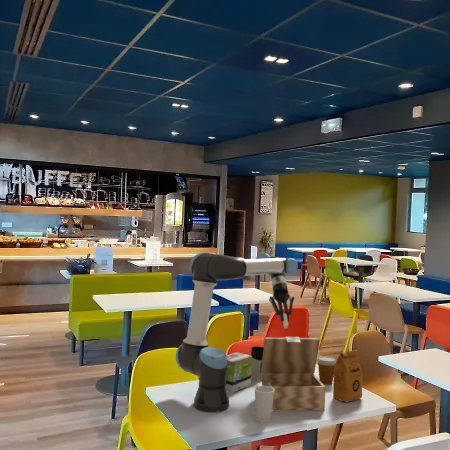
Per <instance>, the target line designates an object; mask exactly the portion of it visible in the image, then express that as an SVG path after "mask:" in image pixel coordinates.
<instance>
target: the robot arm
mask: <svg viewBox="0 0 450 450" xmlns="http://www.w3.org/2000/svg"><path fill="white" fill-rule="evenodd" d="M298 264H299V263H298V261H297V260H296V259H295V258H291V257H282V256H274V255H270V254H268V253H267V252H264V251H263V252H260V253H258V254H257V256H256V258H243V257H240V256H238V257H237V256H236V257H235V256H229V255H224V254H219V253H212V252H198V253H197V254H195V255H194V256H193V257H191V260H190V262H189V268H188V269H189V272H190V274H191V275H192V280H191V281H192V282H193V283H194V288H193V289H194V290H193V294H192V296H193V297H192V301H191V307H190V308H191V309H190V316H189V322H188V323H189V324H188V329H187V335H186V337H185V338H184V339H183V340H182V344H181V345H179V347H178V348H177V349H176V352H175V361H176V365H177V366H178V368H180V369H182V370H183V371H184V372H186V373H190V374H193V375H194V376H196V377H198V387H197V391H196V393H195V396H194V399H193V406H194V407H195V409H197V410H199V411H202V412H206V413H216V412H222V411H226V410H228V409H229V407H230V398H229V395H228V391H226V371H227V356H226V355H227V354H226V352H225V351H224V350H222V349H221V348H217V347H215V348H214V347H212V346H211V347H209V343H208V342H207V333H208V326H209V320H210V312H211V305H212V302H213V301H212V299H213V293H214V288H215V287H216V286H217V285H218V282H219V281H229V280H237V279H242V278H244V277H247V276H249V277H250V276H261V275H269V276H270V278H271V284H272V285H271V286H272V293H273V294H272V295H271V296H269V298H268V301H269V302H270V303H271V306H272V307H273V310H274V313H275V315H276V316H279V317H280V318H279V319H280V321H281V322H282V323H283V324H282V325H283V329H288V327H289V321H290V316H291V315H292V313H293V306H294V301H295V296H291V295H290V293H289V289H288V283H287V278H286V274H287V275H288V274H290V275H291V274H292V275H293V274H295V273H296V272H297V271H298ZM288 301H289V305H288ZM288 307H289V308H288ZM283 309H284V310H283Z"/></svg>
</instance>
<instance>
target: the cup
mask: <svg viewBox="0 0 450 450" xmlns="http://www.w3.org/2000/svg"><path fill="white" fill-rule="evenodd" d="M273 397H274V388H272V387H269V386H262V385H258V386H255V387H254V403H255V405H254V408H255V409H254V410H255V420H256V421H258V422H262V423H269V422H271V421H272V413H273V411H272V406H273ZM268 421H269V422H268Z"/></svg>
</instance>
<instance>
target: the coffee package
mask: <svg viewBox="0 0 450 450" xmlns="http://www.w3.org/2000/svg"><path fill="white" fill-rule="evenodd" d="M358 354H359V350H357V349H355V350H350V351H349V350H348V351H347V350H346V351H344V352H343V351H342V352H340V353H339V355H338V356H337V357H338V358H337V359H336V363H335V368H334V376H333V382H332V385H333V389H332V391H333V392H332V397H333V399H337V400H340V401H341V402H345V403H347V402H353V401H357V400H361V399H362V397H363V380H364V379H363V377H364V376H363V370H362V367H361V364H360V363H359V359H358V356H357V355H358Z"/></svg>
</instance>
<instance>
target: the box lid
mask: <svg viewBox="0 0 450 450" xmlns="http://www.w3.org/2000/svg"><path fill="white" fill-rule="evenodd" d="M263 341H264V342H263V347H264V350H263V358H262V367H261V373H313V374H315V371H316V366H317V365H316V364H317V360H318V353H319V349H320V348H319V347H320V341H321V339H320V337H299V336H285V337H272V336H271V337H269V336H268V337H267V336H266V337H264V340H263Z"/></svg>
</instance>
